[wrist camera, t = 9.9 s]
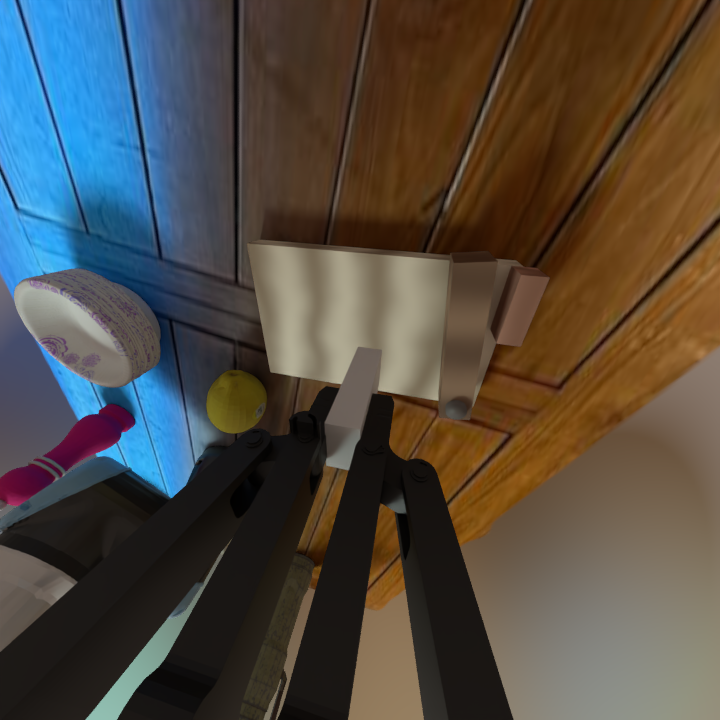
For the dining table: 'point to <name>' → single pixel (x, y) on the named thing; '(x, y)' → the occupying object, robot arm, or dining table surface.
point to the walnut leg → (464, 330)
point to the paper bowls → (90, 325)
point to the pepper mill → (65, 454)
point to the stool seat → (375, 311)
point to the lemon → (236, 401)
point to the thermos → (277, 644)
